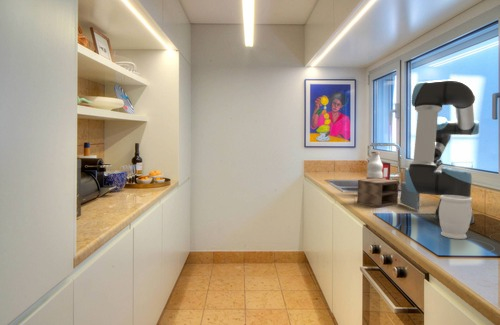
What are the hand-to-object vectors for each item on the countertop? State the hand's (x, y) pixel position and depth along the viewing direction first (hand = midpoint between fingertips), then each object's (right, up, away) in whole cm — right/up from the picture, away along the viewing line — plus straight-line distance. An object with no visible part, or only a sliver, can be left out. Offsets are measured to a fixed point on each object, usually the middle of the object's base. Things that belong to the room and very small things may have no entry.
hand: (419, 182), depth 185 cm
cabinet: (-23, -12, +1) cm, 26 cm away
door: (-9, -12, -8) cm, 17 cm away
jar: (-17, -17, -59) cm, 64 cm away
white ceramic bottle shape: (-16, -10, +25) cm, 31 cm away
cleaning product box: (-6, -9, +45) cm, 46 cm away
